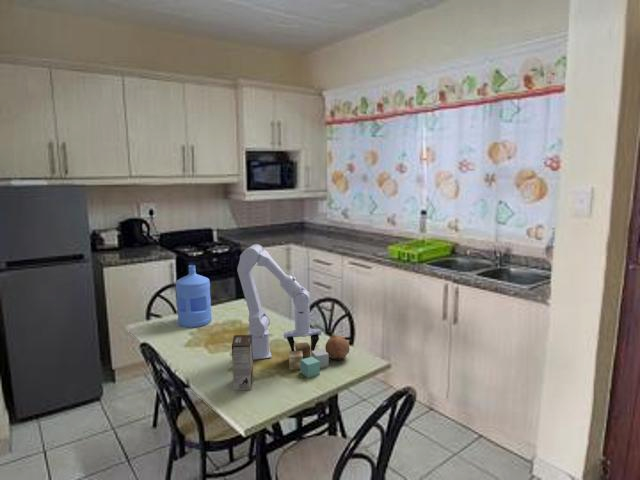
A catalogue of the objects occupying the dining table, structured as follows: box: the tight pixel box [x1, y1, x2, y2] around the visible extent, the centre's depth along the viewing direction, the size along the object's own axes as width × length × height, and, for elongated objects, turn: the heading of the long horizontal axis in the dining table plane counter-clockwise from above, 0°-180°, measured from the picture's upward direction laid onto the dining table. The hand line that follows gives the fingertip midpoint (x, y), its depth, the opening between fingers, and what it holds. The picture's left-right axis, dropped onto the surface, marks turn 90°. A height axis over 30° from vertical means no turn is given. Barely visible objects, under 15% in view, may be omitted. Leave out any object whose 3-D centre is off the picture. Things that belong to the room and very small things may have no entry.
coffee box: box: [231, 334, 254, 391], centre depth 150 cm, size 9×6×16 cm
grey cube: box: [310, 348, 330, 369], centre depth 165 cm, size 5×5×5 cm
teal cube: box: [300, 356, 321, 379], centre depth 159 cm, size 5×5×5 cm
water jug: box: [175, 264, 212, 328], centre depth 209 cm, size 16×16×28 cm
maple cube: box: [288, 350, 303, 370], centre depth 164 cm, size 5×5×5 cm
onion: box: [324, 334, 350, 361], centre depth 171 cm, size 10×9×10 cm
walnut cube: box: [294, 342, 311, 359], centre depth 172 cm, size 5×5×5 cm
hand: (302, 353), depth 172 cm, fingers open, 7 cm apart
